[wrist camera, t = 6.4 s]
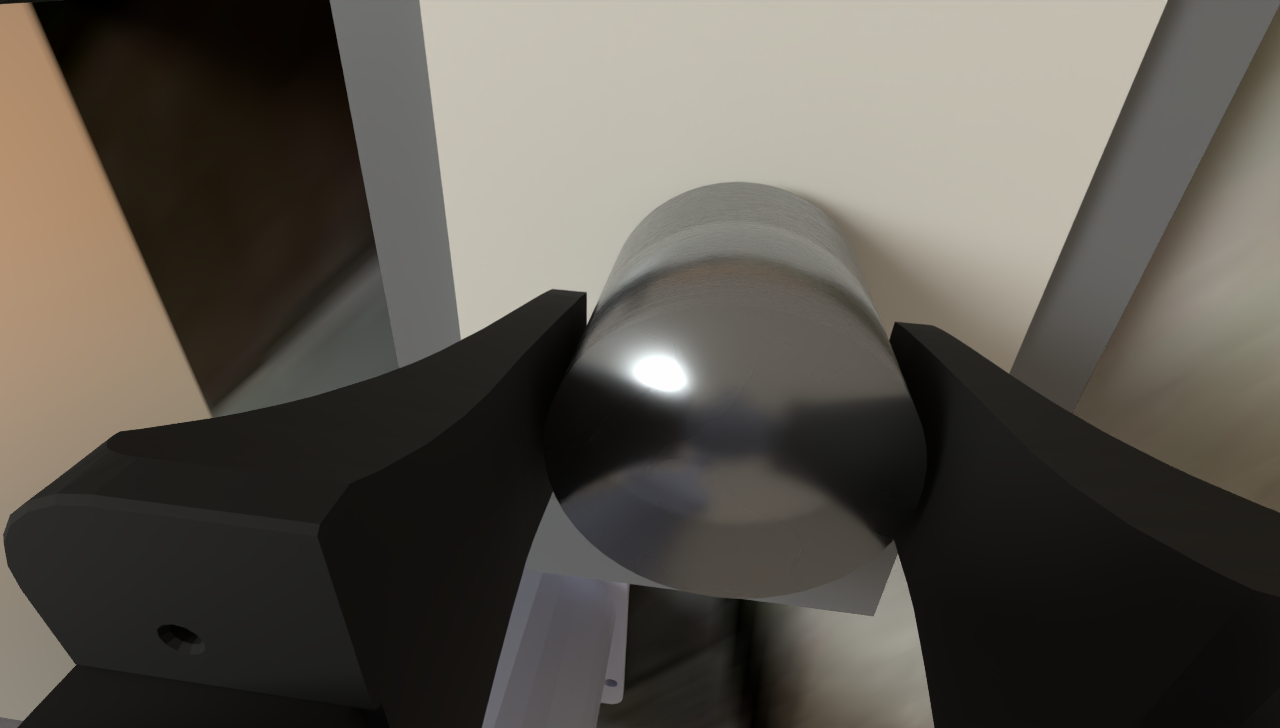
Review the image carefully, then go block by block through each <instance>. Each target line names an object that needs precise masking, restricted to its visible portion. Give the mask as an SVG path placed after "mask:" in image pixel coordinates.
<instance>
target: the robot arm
mask: <svg viewBox="0 0 1280 728" xmlns="http://www.w3.org/2000/svg"><path fill="white" fill-rule="evenodd" d="M586 326H587V292H580V291H569V290H559V289H551V290H549V291H547V292H545V293H543V294H541V295H539V296H537V297H536V298H534V299H532V300H531V301H529V302H527V303H526V304H524V305H522V306H521V307H519V308H517V309H516V310H514V311H512V312H511V313H509V314H507V315H506V316H504V317H502V318H500V319H499V320H497V321H495V322H494V323H492V324H490V325H489V326H487V327H485V328H483V329H481V330H479V331H478V332H476V333H474V334H472V335H470V336H468V337H466V338H464V339H462V340H460V341H458V342H456V343H454V344H453V345H451V346H449V347H447V348H445V349H443V350H441V351H439V352H437V353H434V354H432V355H430V356H428V357H426V358H423V359H421V360H419V361H416V362H414V363H412V364H409V365H406V366H404V367H401V368H399V369H396V370H394V371H391V372H389V373H386V374H383V375H381V376H378V377H375V378H372V379H368V380H365V381H362V382H359V383H356V384H352V385H349V386H346V387H343V388H339V389H336V390H333V391H330V392H326V393H323V394H320V395H316V396H313V397H309V398H305V399H301V400H297V401H293V402H289V403H284V404H280V405H276V406H271V407H267V408H262V409H257V410H253V411H248V412H243V413H238V414H233V415H227V416H222V417H216V418H210V419H204V420H197V421H190V422H184V423H177V424H171V425H164V426H157V427H151V428H144V429H137V430H129V431H121V432H118V433H116V434H115V435H113V436H112V437H111V438H109V439H108V440H107V441H105V442H104V443H103V444H102V445H100V446H99V447H98V448H96V449H95V450H94V451H93V452H91V453H90V454H89V455H87V456H86V457H85V458H84V459H82V460H81V461H80V462H78V463H77V464H76V465H74V466H73V467H72V468H71V469H69V470H68V471H67V472H65V473H64V474H63V475H61V476H60V477H59V478H58V479H56V480H55V481H54V482H52V483H51V484H50V485H48V486H47V487H46V488H44V489H43V490H42V491H40V492H39V493H38V494H36V495H35V496H34V497H32V498H31V499H30V500H28V501H27V502H26V503H24V504H23V505H22V506H21V507H19V508H18V509H17V510H16V511H14V512H13V513H12V514H11V515H10V517H9V520H8V523H7V526H6V529H5V531H4V534H3V536H4V546H5V553H6V558H7V564H8V567H9V568H10V570H11V572H12V574H13V576H14V578H15V579H16V581H17V583H18V585H19V586H20V588H21V590H22V591H23V593H24V594H25V595H26V596H27V598H28V599H29V601H30V602H31V604H32V605H33V606H34V608H35V609H36V610H37V612H38V613H39V614H40V616H41V617H42V619H43V620H44V621H45V623H46V624H47V626H48V627H49V628H50V630H51V631H52V632H53V634H54V635H55V636H56V638H57V639H58V641H59V642H60V643H61V645H62V646H63V648H64V649H65V650H66V652H67V653H68V654H69V656H70V657H71V659H72V660H73V661H74V663H75V664H77V665H76V666H75V667H74V668H73V669H72V670H71V671H70V672H69V673H68V674H67V676H66V677H65V678H64V679H63V680H62V681H61V682H60V683H59V684H58V685H57V686H56V687H55V688H54V689H53V690H52V691H51V692H50V693H49V695H48V696H47V697H46V698H45V699H44V700H43V701H42V702H41V703H40V704H39V705H38V706H37V707H36V708H35V709H34V710H33V712H31V714H30V715H29V716H28V717H27V718H26V719H25V720H24V721H19V720H13V719H7V718H1V717H0V728H596V726H597V720H598V715H599V709H600V704H601V703H607V704H617V703H619V702H621V701H622V699H623V694H624V680H625V662H626V643H627V625H628V607H629V588H630V584H627V583H619V582H612V581H604V580H597V579H589V578H582V577H574V576H567V575H559V574H552V573H544V572H537V571H529V570H527V557H528V554H529V551H530V549H531V546H532V543H533V540H534V537H535V534H536V532H537V530H538V527H539V525H540V522H541V520H542V517H543V515H544V512H545V510H546V508H547V505H548V503H549V500H550V498H551V495H552V493H553V489H552V487H551V484H550V482H549V479H548V474H547V470H546V466H545V460H544V444H543V442H544V433H545V424H546V420H547V417H548V413H549V410H550V406H551V404H552V402H553V399H554V397H555V395H556V393H557V390H558V388H559V386H560V384H561V382H562V379H563V377H564V375H565V373H566V370H567V368H568V366H569V364H570V362H571V359H572V357H573V355H574V353H575V350H576V348H577V346H578V344H579V342H580V339H581V337H582V335H583V333H584V330H585V328H586ZM889 342H890V344H891V347H892V349H893V352H894V354H895V357H896V360H897V362H898V365H899V367H900V370H901V372H902V375H903V377H904V380H905V383H906V385H907V388H908V390H909V393H910V395H911V398H912V400H913V403H914V406H915V408H916V411H917V413H918V416H919V419H920V421H921V424H922V426H923V431H924V437H925V442H926V447H927V469H926V475H925V481H924V487H923V490H922V493H921V495H920V498H919V501H918V504H917V506H916V508H915V510H914V512H913V513H912V515H911V517H910V519H909V521H908V522H907V524H906V525H905V527H904V528H903V529H902V530H901V532H900V533H899V534H898V535H897V537H896V538H895V539H894V542H895V545H896V548H897V552H898V555H899V558H900V561H901V564H902V568H903V571H904V574H905V577H906V581H907V584H908V588H909V592H910V596H911V600H912V604H913V607H914V612H915V617H916V623H917V628H918V633H919V639H920V644H921V650H922V655H923V660H924V666H925V671H926V678H927V684H928V690H929V696H930V702H931V709H932V715H933V721H934V727H935V728H1280V513H1279V512H1277V511H1274V510H1272V509H1269V508H1266V507H1264V506H1261V505H1259V504H1256V503H1254V502H1252V501H1249V500H1247V499H1245V498H1242V497H1240V496H1238V495H1235V494H1233V493H1231V492H1228V491H1226V490H1224V489H1221V488H1219V487H1217V486H1214V485H1212V484H1210V483H1207V482H1205V481H1203V480H1200V479H1198V478H1196V477H1193V476H1191V475H1189V474H1187V473H1185V472H1183V471H1180V470H1178V469H1176V468H1174V467H1172V466H1170V465H1168V464H1165V463H1163V462H1161V461H1159V460H1157V459H1155V458H1153V457H1151V456H1149V455H1147V454H1146V453H1144V452H1142V451H1140V450H1138V449H1136V448H1134V447H1132V446H1130V445H1128V444H1126V443H1124V442H1122V441H1120V440H1118V439H1116V438H1114V437H1112V436H1110V435H1109V434H1107V433H1105V432H1103V431H1101V430H1100V429H1098V428H1096V427H1094V426H1092V425H1091V424H1089V423H1087V422H1085V421H1084V420H1082V419H1080V418H1079V417H1077V416H1075V415H1074V414H1072V413H1070V412H1069V411H1067V410H1065V409H1064V408H1062V407H1060V406H1059V405H1057V404H1055V403H1054V402H1052V401H1050V400H1049V399H1047V398H1046V397H1044V396H1043V395H1041V394H1039V393H1038V392H1036V391H1035V390H1033V389H1032V388H1030V387H1028V386H1027V385H1025V384H1024V383H1022V382H1021V381H1019V380H1018V379H1016V378H1015V377H1013V376H1012V375H1010V374H1009V373H1007V372H1006V371H1004V370H1003V369H1001V368H1000V367H998V366H997V365H996V364H994V363H993V362H991V361H990V360H988V359H987V358H985V357H984V356H982V355H981V354H979V353H978V352H976V351H975V350H973V349H972V348H970V347H969V346H967V345H966V344H964V343H963V342H961V341H960V340H958V339H957V338H955V337H954V336H952V335H950V334H949V333H947V332H945V331H943V330H942V329H940V328H938V327H936V326H933V325H925V324H915V323H905V322H894V326H893V329H892V333H891V336H890V339H889Z"/></svg>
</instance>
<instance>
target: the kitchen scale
mask: <svg viewBox="0 0 1280 728" xmlns="http://www.w3.org/2000/svg"><path fill="white" fill-rule="evenodd" d="M330 4H331V9H332V15H333V20H334V25H335V31H336V36H337V41H338V47H339V52H340V57H341V62H342V68H343V73H344V78H345V84H346V89H347V94H348V100H349V105H350V110H351V116H352V121H353V126H354V131H355V137H356V142H357V147H358V153H359V158H360V163H361V169H362V174H363V179H364V185H365V190H366V195H367V201H368V206H369V211H370V216H371V222H372V227H373V232H374V238H375V243H376V248H377V254H378V259H379V264H380V270H381V275H382V280H383V285H384V291H385V296H386V301H387V307H388V312H389V317H390V323H391V328H392V333H393V339H394V344H395V349H396V355H397V360H398V365H399V368H401V367H404V366H406V365H409V364H412V363H414V362H416V361H419V360H421V359H423V358H426V357H428V356H430V355H432V354H434V353H437V352H439V351H441V350H443V349H445V348H447V347H449V346H451V345H453V344H454V343H456V342H458V341H460V340H462V339H464V338H466V337H468V336H470V335H472V334H474V333H476V332H478V331H479V330H481V329H483V328H485V327H487V326H489V325H490V324H492V323H494V322H495V321H497V320H499V319H500V318H502V317H504V316H506V315H507V314H509V313H511V312H512V311H514V310H516V309H517V308H519V307H521V306H522V305H524V304H526V303H527V302H529V301H531V300H532V299H534V298H536V297H537V296H539V295H541V294H543V293H545V292H547V291H549V290H551V289H559V290H569V291H580V292H587V324H588V322H589V319H590V317H591V315H592V313H593V310H594V308H595V306H596V304H597V302H598V299H599V297H600V295H601V293H602V291H603V288H604V286H605V284H606V282H607V279H608V277H609V275H610V273H611V271H612V268H613V266H614V264H615V262H616V259H617V257H618V255H619V253H620V251H621V249H622V247H623V245H624V243H625V242H626V240H627V239H628V237H629V236H630V234H631V232H632V231H633V230H634V229H635V228H636V227H637V226H638V224H639V223H640V222H641V221H642V220H643V219H644V218H645V217H646V216H647V215H649V214H650V213H651V212H652V211H653V210H654V209H656V208H657V207H659V206H660V205H662V204H663V203H665V202H666V201H668V200H669V199H671V198H674V197H676V196H678V195H680V194H682V193H684V192H686V191H689V190H692V189H695V188H698V187H701V186H706V185H711V184H716V183H725V182H750V183H760V184H764V185H769V186H774V187H777V188H780V189H783V190H786V191H789V192H792V193H794V194H796V195H798V196H800V197H802V198H804V199H806V200H808V201H809V202H811V203H812V204H813V205H815V206H816V207H818V208H819V209H821V210H822V211H823V212H824V213H825V214H826V215H828V216H829V217H830V218H831V219H832V220H833V221H834V222H835V223H836V224H837V226H838V227H839V228H840V229H841V231H842V232H843V233H844V235H845V236H846V237H847V239H848V241H849V243H850V244H851V246H852V248H853V250H854V252H855V255H856V257H857V260H858V262H859V265H860V267H861V270H862V273H863V275H864V278H865V280H866V283H867V285H868V288H869V290H870V293H871V296H872V298H873V301H874V303H875V306H876V308H877V311H878V313H879V316H880V319H881V321H882V324H883V326H884V329H885V331H886V334H887V337H888V339H890V336H891V333H892V329H893V326H894V322H905V323H915V324H925V325H933V326H936V327H938V328H940V329H942V330H943V331H945V332H947V333H949V334H950V335H952V336H954V337H955V338H957V339H958V340H960V341H961V342H963V343H964V344H966V345H967V346H969V347H970V348H972V349H973V350H975V351H976V352H978V353H979V354H981V355H982V356H984V357H985V358H987V359H988V360H990V361H991V362H993V363H994V364H996V365H997V366H998V367H1000V368H1001V369H1003V370H1004V371H1006V372H1007V373H1009V374H1010V375H1012V376H1013V377H1015V378H1016V379H1018V380H1019V381H1021V382H1022V383H1024V384H1025V385H1027V386H1028V387H1030V388H1032V389H1033V390H1035V391H1036V392H1038V393H1039V394H1041V395H1043V396H1044V397H1046V398H1047V399H1049V400H1050V401H1052V402H1054V403H1055V404H1057V405H1059V406H1060V407H1062V408H1064V409H1065V410H1067V411H1069V412H1070V413H1072V412H1073V410H1074V408H1075V406H1076V404H1077V403H1078V401H1079V399H1080V397H1081V395H1082V393H1083V391H1084V389H1085V387H1086V385H1087V383H1088V381H1089V379H1090V377H1091V375H1092V373H1093V371H1094V369H1095V367H1096V365H1097V363H1098V361H1099V359H1100V357H1101V355H1102V353H1103V351H1104V349H1105V347H1106V346H1107V344H1108V342H1109V340H1110V338H1111V336H1112V334H1113V332H1114V330H1115V328H1116V326H1117V324H1118V322H1119V320H1120V318H1121V316H1122V314H1123V312H1124V310H1125V308H1126V306H1127V304H1128V302H1129V300H1130V298H1131V296H1132V294H1133V292H1134V290H1135V288H1136V287H1137V285H1138V283H1139V281H1140V279H1141V277H1142V275H1143V273H1144V271H1145V269H1146V267H1147V265H1148V263H1149V261H1150V259H1151V257H1152V255H1153V253H1154V251H1155V249H1156V247H1157V245H1158V243H1159V241H1160V239H1161V237H1162V235H1163V233H1164V231H1165V229H1166V228H1167V226H1168V224H1169V222H1170V220H1171V218H1172V216H1173V214H1174V212H1175V210H1176V208H1177V206H1178V204H1179V202H1180V200H1181V198H1182V196H1183V194H1184V192H1185V190H1186V188H1187V186H1188V184H1189V182H1190V180H1191V178H1192V176H1193V174H1194V172H1195V171H1196V169H1197V167H1198V165H1199V163H1200V161H1201V159H1202V157H1203V155H1204V153H1205V151H1206V149H1207V147H1208V145H1209V143H1210V141H1211V139H1212V137H1213V135H1214V133H1215V131H1216V129H1217V127H1218V125H1219V123H1220V121H1221V119H1222V117H1223V115H1224V113H1225V112H1226V110H1227V108H1228V106H1229V104H1230V102H1231V100H1232V98H1233V96H1234V94H1235V92H1236V90H1237V88H1238V86H1239V84H1240V82H1241V80H1242V78H1243V76H1244V74H1245V72H1246V70H1247V68H1248V66H1249V64H1250V62H1251V60H1252V58H1253V56H1254V54H1255V53H1256V51H1257V49H1258V47H1259V45H1260V43H1261V41H1262V39H1263V37H1264V35H1265V33H1266V31H1267V29H1268V27H1269V25H1270V23H1271V21H1272V19H1273V17H1274V15H1275V13H1276V11H1277V9H1278V7H1279V5H1280V0H330ZM897 554H898V552H897V548H896V545H895V542H894V540H893V541H892V542H891V543H890V544H889V545H888V546H887V547H886V548H885V549H884V550H883V551H882V552H881V553H880V554H878V555H877V556H876V557H874V558H873V559H872V560H870V561H869V562H867V563H866V564H865V565H863V566H862V567H860V568H858V569H856V570H855V571H853V572H851V573H849V574H848V575H846V576H844V577H842V578H839V579H837V580H835V581H832V582H830V583H828V584H825V585H822V586H819V587H816V588H813V589H810V590H806V591H802V592H798V593H793V594H788V595H783V596H775V597H767V598H747V600H755V601H762V602H770V603H778V604H785V605H793V606H800V607H808V608H815V609H823V610H830V611H838V612H845V613H853V614H860V615H868V616H874V614H875V611H876V609H877V606H878V603H879V601H880V598H881V596H882V593H883V590H884V588H885V585H886V582H887V580H888V577H889V575H890V572H891V569H892V567H893V564H894V562H895V559H896V556H897ZM527 570H529V571H537V572H544V573H552V574H559V575H567V576H574V577H582V578H589V579H597V580H604V581H612V582H619V583H627V584H634V585H642V586H650V587H657V588H665V589H672V590H677V589H674V588H671V587H667V586H664V585H661V584H658V583H656V582H653V581H651V580H649V579H646V578H644V577H642V576H639V575H637V574H635V573H634V572H632V571H630V570H628V569H626V568H624V567H622V566H621V565H619V564H618V563H616V562H615V561H613V560H612V559H610V558H609V557H607V556H606V555H604V554H603V553H602V552H601V551H599V550H598V549H597V548H596V547H595V546H593V545H592V544H591V543H590V542H589V541H588V540H587V539H586V538H585V537H584V536H583V535H582V534H581V533H580V532H579V531H578V530H577V529H576V527H575V526H574V525H573V523H572V522H571V521H570V519H569V518H568V517H567V515H566V514H565V513H564V511H563V509H562V508H561V506H560V504H559V502H558V500H557V499H556V497H555V494H554V492H553V493H552V495H551V498H550V500H549V503H548V505H547V508H546V510H545V512H544V515H543V517H542V520H541V522H540V525H539V527H538V530H537V532H536V534H535V537H534V540H533V543H532V546H531V549H530V551H529V554H528V557H527ZM680 591H681V590H680Z"/></svg>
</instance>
